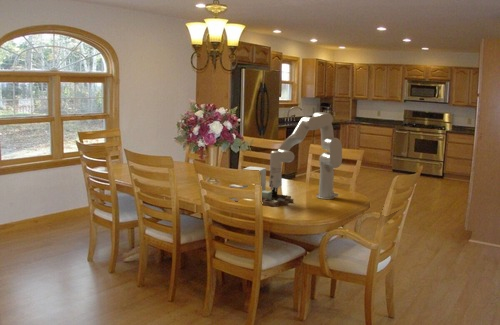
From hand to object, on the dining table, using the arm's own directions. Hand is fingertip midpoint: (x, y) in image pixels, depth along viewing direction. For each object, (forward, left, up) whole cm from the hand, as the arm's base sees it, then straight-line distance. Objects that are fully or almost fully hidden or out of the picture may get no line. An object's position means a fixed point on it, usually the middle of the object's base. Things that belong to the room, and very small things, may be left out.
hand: (274, 197), depth 324 cm
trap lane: (-1, 0, -3) cm, 3 cm away
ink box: (+18, +19, -3) cm, 27 cm away
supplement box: (+24, -17, -3) cm, 30 cm away
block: (+7, 0, -3) cm, 7 cm away
